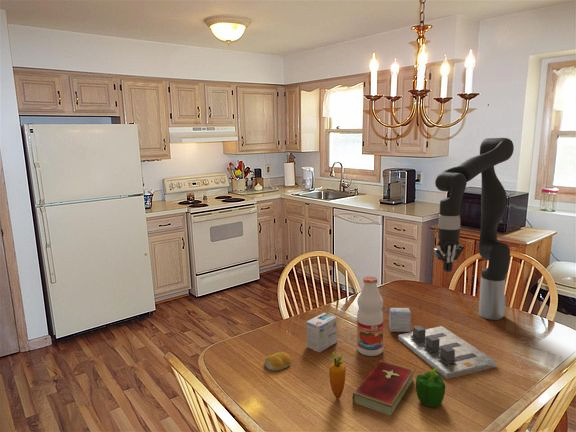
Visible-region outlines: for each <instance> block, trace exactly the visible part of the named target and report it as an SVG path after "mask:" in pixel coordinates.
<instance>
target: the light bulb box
mask: <svg viewBox="0 0 576 432" xmlns="http://www.w3.org/2000/svg"><path fill="white" fill-rule="evenodd" d="M305 323H306V347H307V348H308V349H311V350H312V351H315V352H316V353H321V352H323V351H325V350H326V349H328V348H330V347H331V346H333V345H335V344H336V343H337V342H338V333H337V332H338V325H337V316H335V315H332V314H329V313H327V312H322V313H321V314H318V315H316V316H315V317H312V318H311V319H310V318H309V319H308V320H306V321H305Z"/></svg>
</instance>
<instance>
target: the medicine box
mask: <svg viewBox="0 0 576 432" xmlns="http://www.w3.org/2000/svg"><path fill="white" fill-rule="evenodd" d="M388 312H389V314H388V315H389V316H388V319H389V320H388V324H389V325H388V327H389V331H390V332H391V333H392V332H393V333H401V332H402V333H404V332H405V333H410V332H411V319H412V315H411V314H412V312H411V310H410V308H409V307H389V311H388Z"/></svg>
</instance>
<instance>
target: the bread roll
mask: <svg viewBox="0 0 576 432" xmlns="http://www.w3.org/2000/svg"><path fill="white" fill-rule="evenodd" d="M264 366H265V367H266V368H267V369H269V371H273V372H274V371H281V370H284V369H287V368H288V367H290V366H291V357H290V355H289V354H288V353H286V352H284V351H278V352H275V353H273V354H269V355H267V356H266V357H265V359H264Z"/></svg>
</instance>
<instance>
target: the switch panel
mask: <svg viewBox="0 0 576 432" xmlns="http://www.w3.org/2000/svg"><path fill="white" fill-rule="evenodd" d="M425 329H426V328H425ZM411 335H413V331H410V332H405V333H401V334H398V338H397V339H398V341H399V342H401V343H402V344H403V345H404V346H405V347H407V348H408V349H409V350H410V351H412V352H413V353H414V354H415V355H416V356H418V357H419V358H420V359H421V360H422V361H424V362H425V363H426V364H427V365H428V366H430V367H431V368H432V370H433V369H434V368H435V369H437V371H436V372H437V373H438V374H439V375H441V377H442V378H444V379H446V380H448V379H452V378H457V377H461V376H465V375H469V374H474V373H477V372H481V371H482V372H483V371H484V370H485V371H487V370H489V369H493V368H497V361H496V360H495V359H494V358H492V357H490V356H489V355H488V354H487V353H484V352H483V351H481V350H479V349H478V348H476V347H475V346H473V345H472V344H470V343H469V342H467V341H466V340H464V339H462V337H459V336H458V335H457V334H455V333H454V332H452V331H450V330H449V329H448V328H445V327H444V326H443V325H442V326H441V325H440V326H436V327H431V328H427V329H426V332H425V337H426V336H430V335H434V336H436V337H437V338H439V339H440V341H439V347H440V348H441V347H442V346H447V345H448V346H450V347H451V348H453V349H454V350H455V359H456V360H457V362H453V363H448V364H445V363H444V362H442V361H441V360H440V359H438V356H440V351H435V352H430V351H428V350H427V349H426V348H424V345H426V340H424V341H419V342H417V341H415V340H414V339H413V338H411Z"/></svg>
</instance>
